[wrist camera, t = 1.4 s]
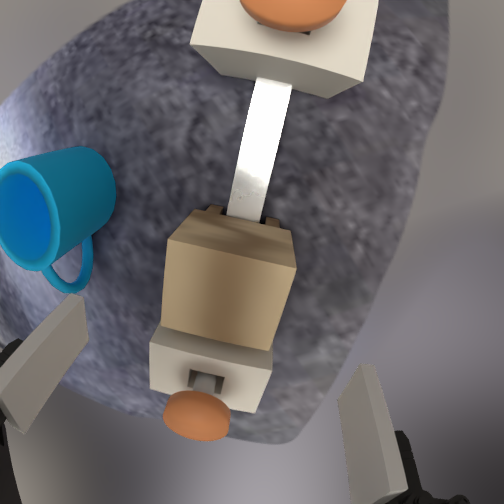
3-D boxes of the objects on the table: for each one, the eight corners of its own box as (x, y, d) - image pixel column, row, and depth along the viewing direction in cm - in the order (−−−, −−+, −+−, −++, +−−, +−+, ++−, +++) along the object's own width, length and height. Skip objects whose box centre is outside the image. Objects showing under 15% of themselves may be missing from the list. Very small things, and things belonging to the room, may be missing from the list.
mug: (41, 158, 22) (-19, 177, 15) (107, 135, 21) (44, 145, 14) (72, 271, 27) (26, 314, 19) (136, 266, 26) (94, 316, 19)
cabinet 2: (217, 74, 19) (183, 43, 11) (232, 17, 17) (209, -37, 9) (327, 98, 19) (362, 81, 11) (340, 41, 17) (378, -2, 9)
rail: (215, 283, 26) (210, 295, 24) (258, 81, 19) (257, 77, 17) (241, 289, 26) (239, 302, 24) (290, 88, 19) (292, 85, 17)
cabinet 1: (176, 319, 28) (146, 387, 20) (181, 275, 26) (145, 340, 18) (259, 339, 28) (254, 413, 20) (273, 296, 26) (272, 370, 18)
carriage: (190, 269, 25) (160, 325, 18) (200, 202, 23) (168, 239, 16) (270, 287, 26) (268, 351, 18) (289, 222, 23) (296, 268, 16)
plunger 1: (180, 377, 21) (162, 431, 16) (184, 341, 19) (163, 398, 15) (231, 389, 21) (223, 445, 16) (242, 354, 19) (233, 415, 15)
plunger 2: (238, 47, 12) (221, 10, 7) (255, -14, 11) (248, -66, 6) (318, 65, 12) (340, 35, 8) (332, 2, 11) (356, -44, 6)
